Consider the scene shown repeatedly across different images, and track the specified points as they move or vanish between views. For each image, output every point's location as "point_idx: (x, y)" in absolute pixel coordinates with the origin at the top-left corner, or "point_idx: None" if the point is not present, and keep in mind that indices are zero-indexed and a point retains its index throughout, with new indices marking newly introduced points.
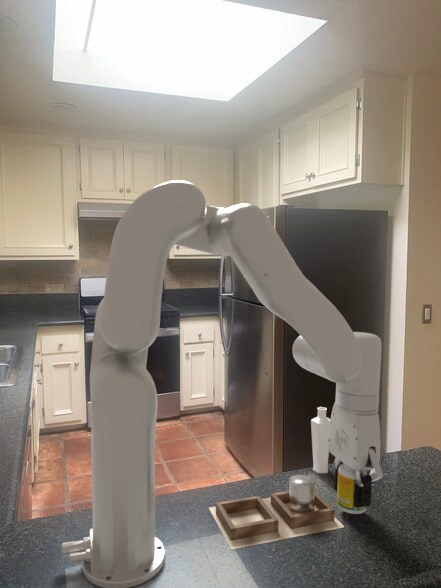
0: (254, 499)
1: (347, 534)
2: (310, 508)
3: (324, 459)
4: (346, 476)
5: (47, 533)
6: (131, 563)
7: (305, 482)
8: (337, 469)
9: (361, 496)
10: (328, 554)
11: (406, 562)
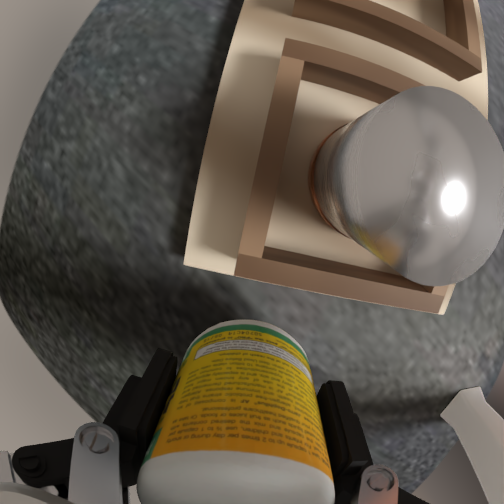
0: (467, 44)
1: (176, 258)
2: (318, 182)
3: (472, 440)
4: (190, 458)
5: None
6: None
7: (419, 186)
8: (356, 467)
9: (125, 396)
10: (125, 117)
11: (35, 298)
